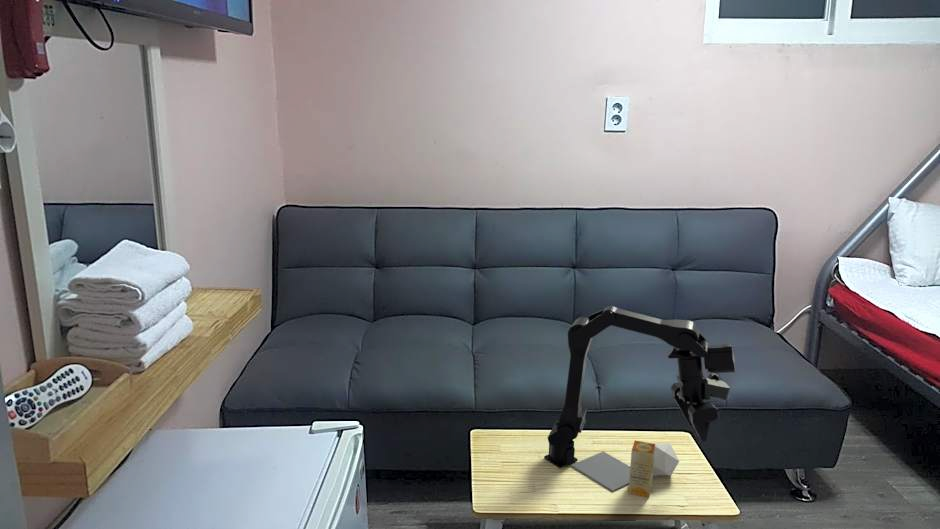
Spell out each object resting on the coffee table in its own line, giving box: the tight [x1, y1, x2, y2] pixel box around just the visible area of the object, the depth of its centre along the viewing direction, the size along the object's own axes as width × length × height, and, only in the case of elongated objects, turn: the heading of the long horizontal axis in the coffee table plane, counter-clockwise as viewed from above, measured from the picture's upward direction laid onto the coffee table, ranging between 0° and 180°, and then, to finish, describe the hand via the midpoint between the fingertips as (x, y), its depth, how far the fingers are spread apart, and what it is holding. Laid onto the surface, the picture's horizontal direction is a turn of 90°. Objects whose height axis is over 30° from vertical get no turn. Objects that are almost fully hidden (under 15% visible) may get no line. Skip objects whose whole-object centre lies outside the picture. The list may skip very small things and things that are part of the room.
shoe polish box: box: [628, 439, 655, 499], centre depth 174 cm, size 5×5×12 cm
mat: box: [570, 451, 631, 493], centre depth 184 cm, size 14×12×1 cm
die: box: [651, 442, 680, 477], centre depth 183 cm, size 8×9×10 cm
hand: (697, 432), depth 174 cm, fingers open, 9 cm apart
